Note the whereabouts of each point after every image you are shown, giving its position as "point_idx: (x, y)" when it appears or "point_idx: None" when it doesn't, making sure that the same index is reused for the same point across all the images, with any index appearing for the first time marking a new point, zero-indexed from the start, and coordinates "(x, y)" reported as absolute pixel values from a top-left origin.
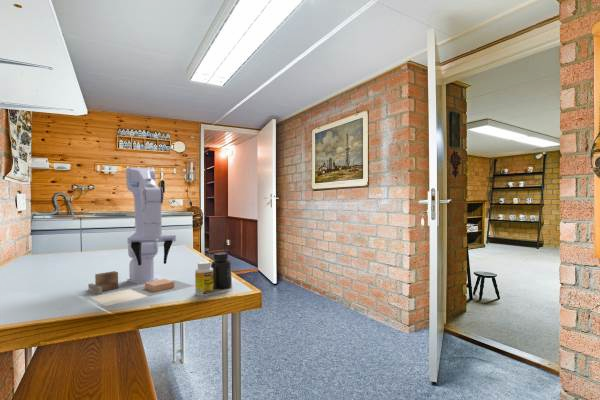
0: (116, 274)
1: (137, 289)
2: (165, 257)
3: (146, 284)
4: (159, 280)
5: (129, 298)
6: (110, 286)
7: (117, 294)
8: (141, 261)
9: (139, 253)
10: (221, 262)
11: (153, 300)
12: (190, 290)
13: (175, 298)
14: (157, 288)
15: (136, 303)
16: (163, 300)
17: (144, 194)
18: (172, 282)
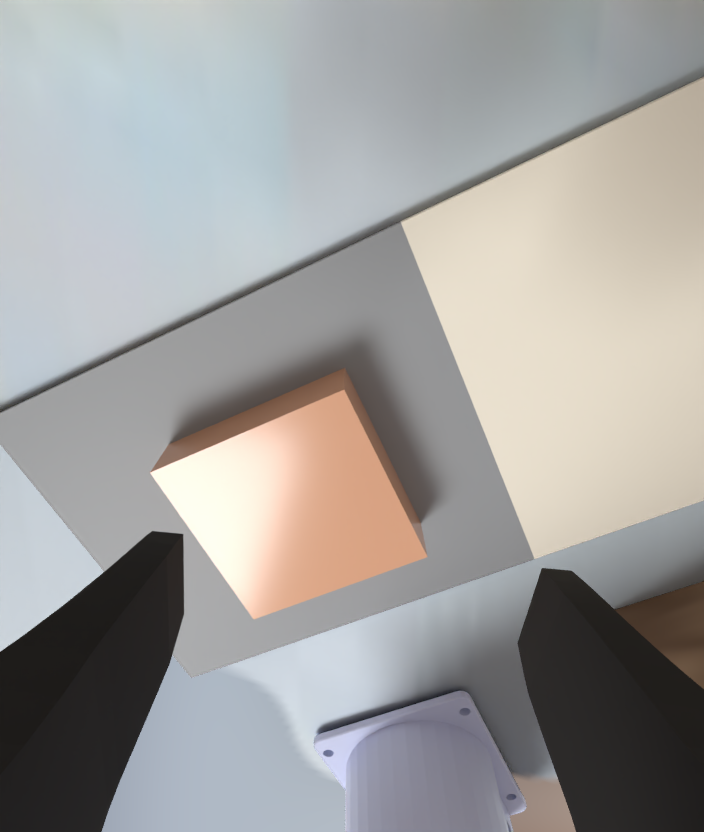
0: None
1: (477, 521)
2: (102, 591)
3: (411, 520)
4: (295, 578)
5: (572, 229)
6: (682, 623)
7: (645, 433)
8: (529, 682)
9: (668, 746)
10: None
11: (353, 72)
12: (6, 301)
13: (127, 28)
14: (313, 389)
15: (520, 35)
16: (251, 7)
17: None
18: (168, 461)
